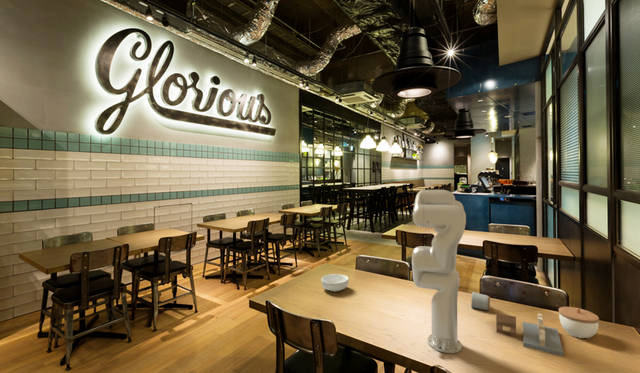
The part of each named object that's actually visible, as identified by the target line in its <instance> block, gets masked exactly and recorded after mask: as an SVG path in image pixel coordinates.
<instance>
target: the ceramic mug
mask: <svg viewBox="0 0 640 373" xmlns="http://www.w3.org/2000/svg"><path fill="white" fill-rule="evenodd" d="M490 302H491V297H490V296H489V295H487V294H482V293H480V292H474V291H472V292H471V304H470V305H471V306H470V307H471V308H472V309H476V310H477V309H478V310H483V311H489V310H490V307H491V306H490Z"/></svg>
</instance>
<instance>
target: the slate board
mask: <svg viewBox="0 0 640 373" xmlns="http://www.w3.org/2000/svg"><path fill="white" fill-rule="evenodd" d="M543 326H544V325H543ZM544 329H545V347H544V346H540V342H539V334H538V325H537V324H536V323H531V322H527V321H522V337H523V338H522V339H523V342H522V343H523V347H524V348H530V349H533V350H537V351H541V352H545V353H548V354H552V355H556V356H559V357H564V351H563V347H562V341H561V338H560V334H559V330H558V328H554V327H551V326H550V327H549V326H544Z"/></svg>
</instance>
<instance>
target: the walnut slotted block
mask: <svg viewBox="0 0 640 373" xmlns="http://www.w3.org/2000/svg"><path fill="white" fill-rule="evenodd" d="M495 320H496V322H495V326H496V327H495V333H498V334H502V332H503V327H504V328H505V327H506V328H509V329H510V330H509V331H510V334H509V335H510V337H514V338H517V317H516V316H512V315H509V314H505V313H500V312H496V315H495Z"/></svg>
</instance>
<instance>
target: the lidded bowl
mask: <svg viewBox="0 0 640 373" xmlns="http://www.w3.org/2000/svg"><path fill="white" fill-rule="evenodd" d="M558 318H559V319H558V320H559V322H560V325H561V326H562V328H563V329H564V330H565V331H566V333H567V335H569V336H572V337H574V338H577V337H578V339H581V338H589V337H590V338H592V337H593V336H595V335H596V333H597V332H598V330H599V321H600V317H599V316H598V315H597V314H595V313H594V312H592V311H589V310H586V309H583V308H580V307H573V306H562V307H561V306H560V307H559V308H558ZM590 338H589V339H590Z"/></svg>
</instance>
